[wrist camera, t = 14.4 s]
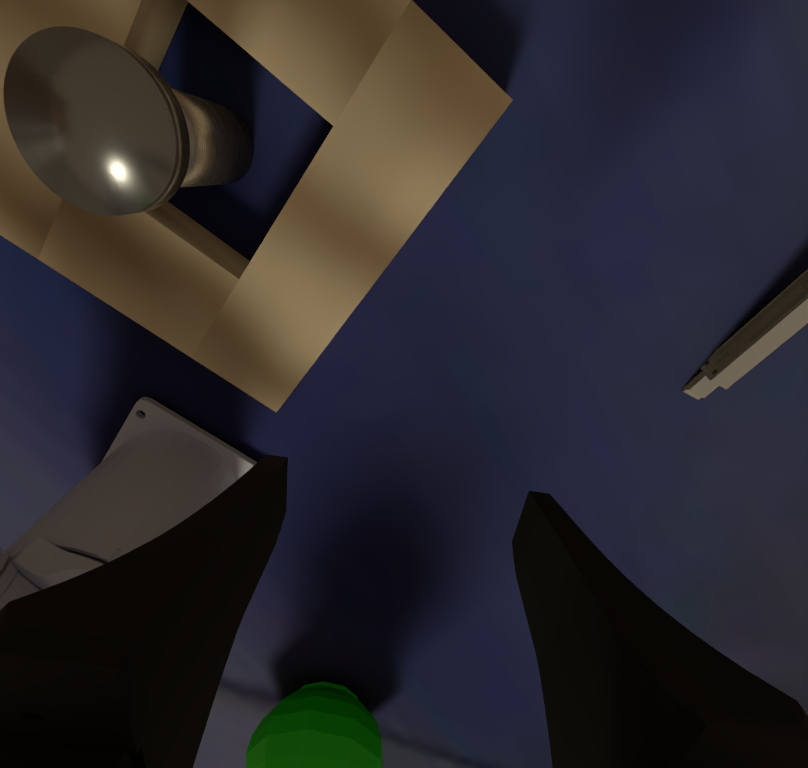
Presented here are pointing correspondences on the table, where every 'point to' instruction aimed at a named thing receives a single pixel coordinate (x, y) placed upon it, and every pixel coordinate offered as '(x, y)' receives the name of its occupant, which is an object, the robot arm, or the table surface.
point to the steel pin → (114, 125)
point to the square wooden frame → (308, 204)
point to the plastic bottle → (317, 732)
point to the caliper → (754, 339)
